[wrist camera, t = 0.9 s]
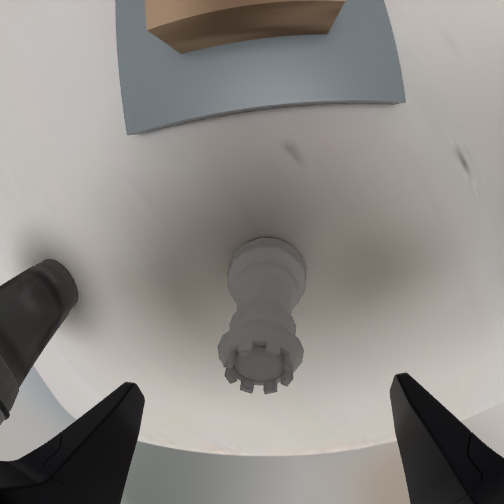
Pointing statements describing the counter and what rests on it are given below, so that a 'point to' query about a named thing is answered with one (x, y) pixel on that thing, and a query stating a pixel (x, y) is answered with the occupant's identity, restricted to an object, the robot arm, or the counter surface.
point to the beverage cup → (30, 322)
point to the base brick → (236, 20)
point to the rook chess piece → (263, 315)
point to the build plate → (255, 69)
